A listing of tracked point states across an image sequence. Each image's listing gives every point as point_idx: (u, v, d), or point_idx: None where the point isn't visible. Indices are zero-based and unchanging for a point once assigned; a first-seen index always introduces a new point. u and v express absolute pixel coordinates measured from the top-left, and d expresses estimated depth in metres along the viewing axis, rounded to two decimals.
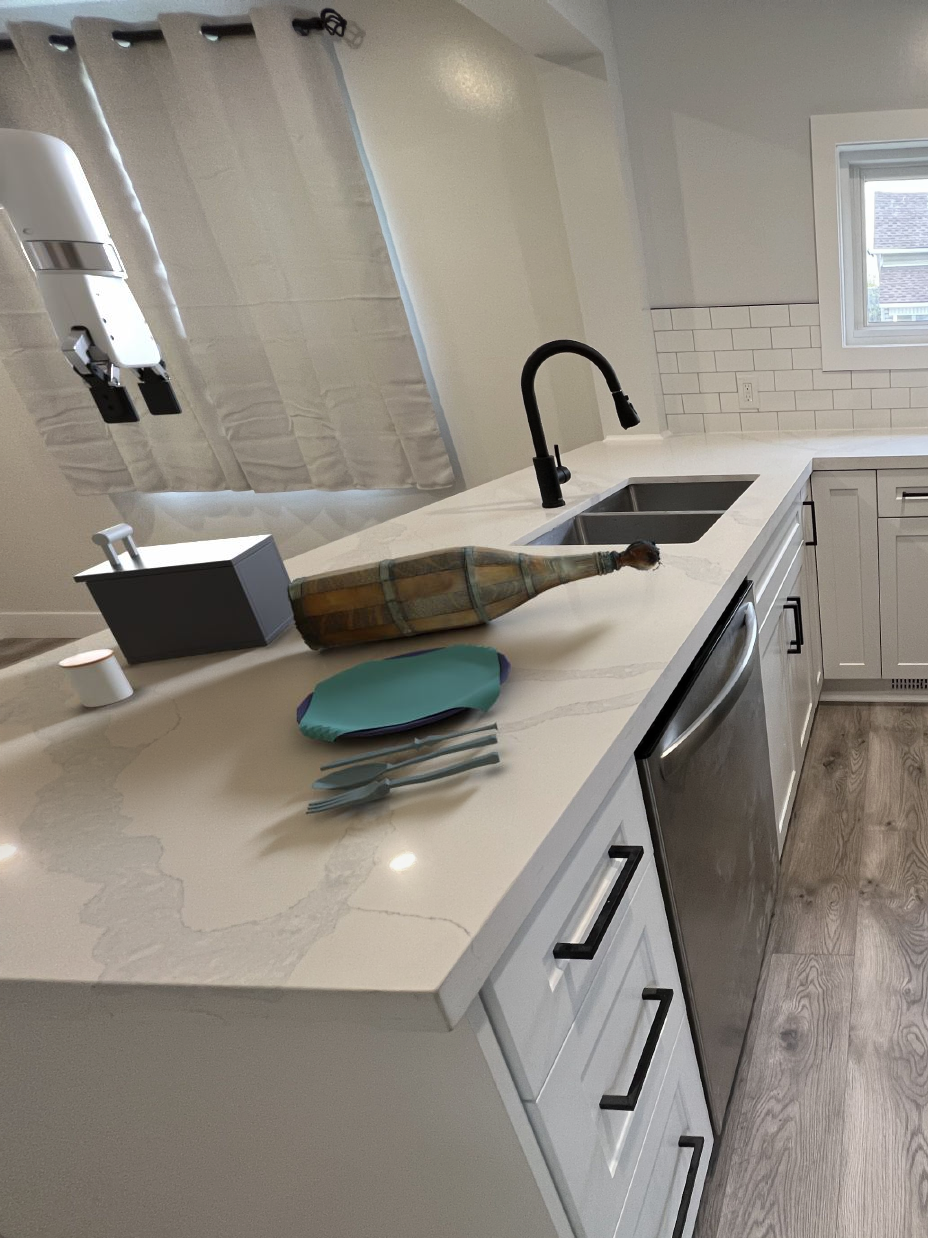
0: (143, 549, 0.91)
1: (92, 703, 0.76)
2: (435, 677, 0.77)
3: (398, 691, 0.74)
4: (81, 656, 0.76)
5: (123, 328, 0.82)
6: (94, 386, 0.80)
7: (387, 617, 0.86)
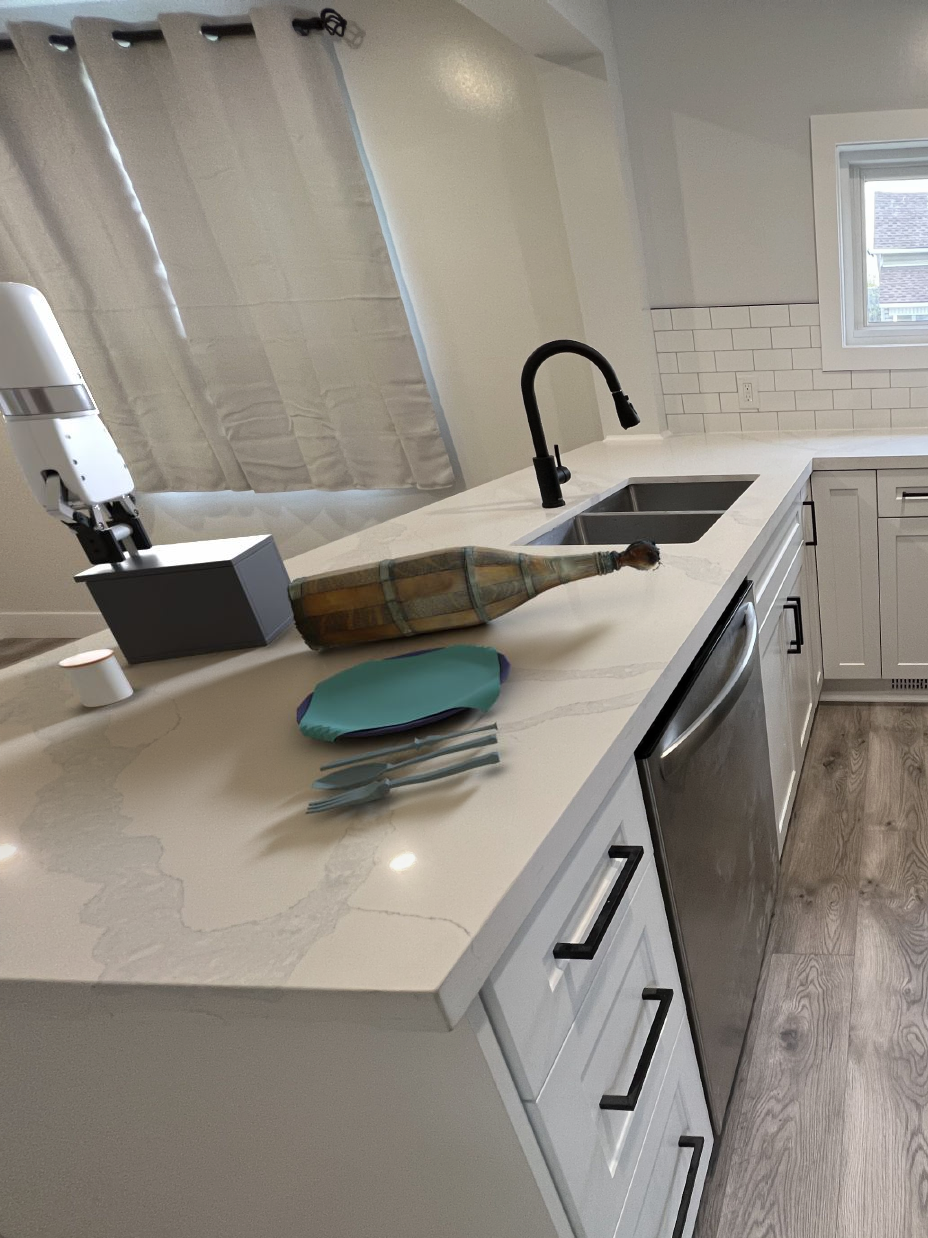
0: None
1: (92, 703, 0.76)
2: (435, 677, 0.77)
3: (397, 691, 0.74)
4: (81, 656, 0.76)
5: (94, 465, 0.81)
6: (80, 532, 0.81)
7: (387, 617, 0.86)
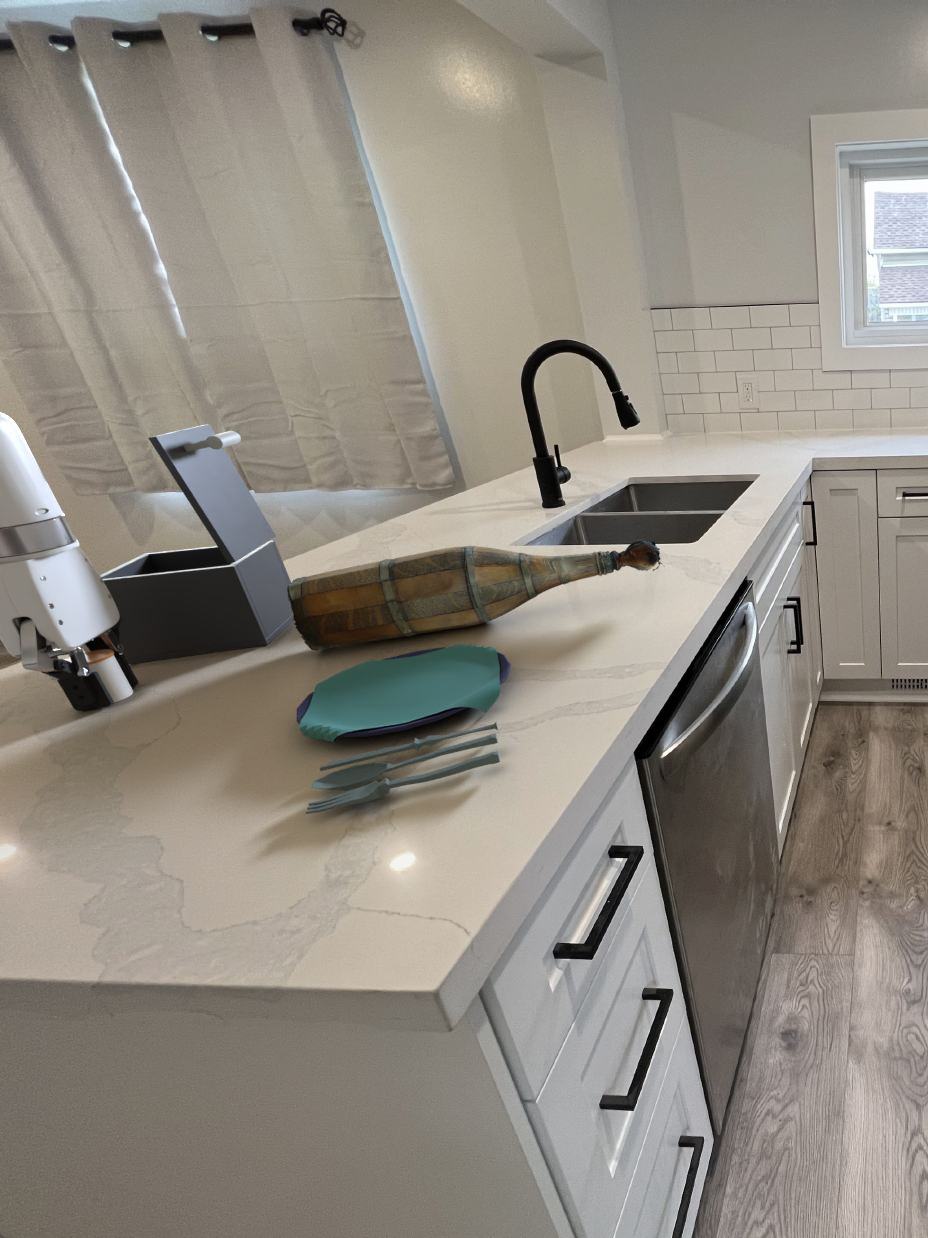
0: None
1: None
2: (435, 677, 0.77)
3: (397, 690, 0.74)
4: None
5: (74, 605, 0.72)
6: (62, 678, 0.73)
7: (387, 617, 0.86)
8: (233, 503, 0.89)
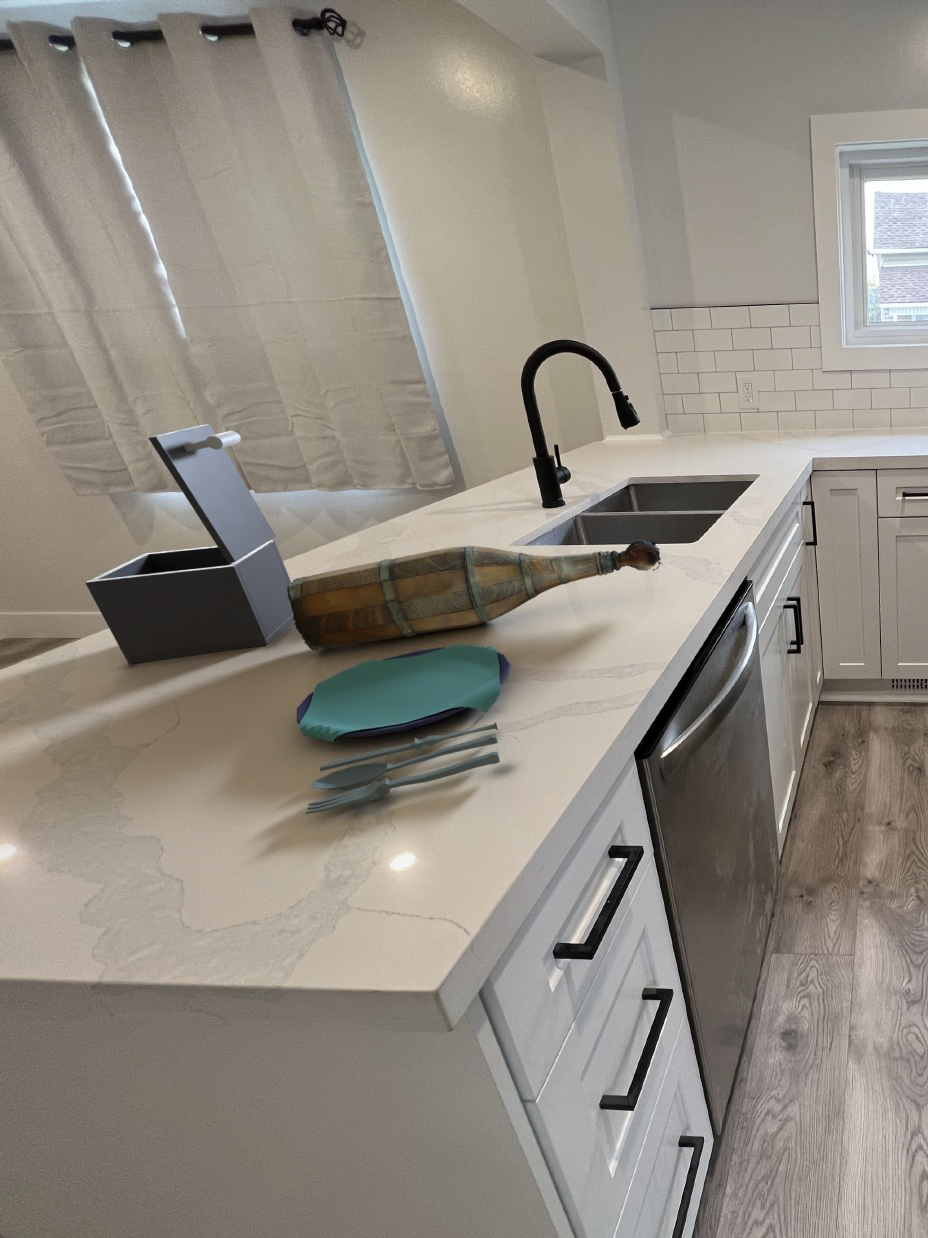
0: None
1: None
2: (435, 677, 0.77)
3: (397, 691, 0.74)
4: None
5: None
6: None
7: (387, 617, 0.86)
8: (233, 503, 0.89)
